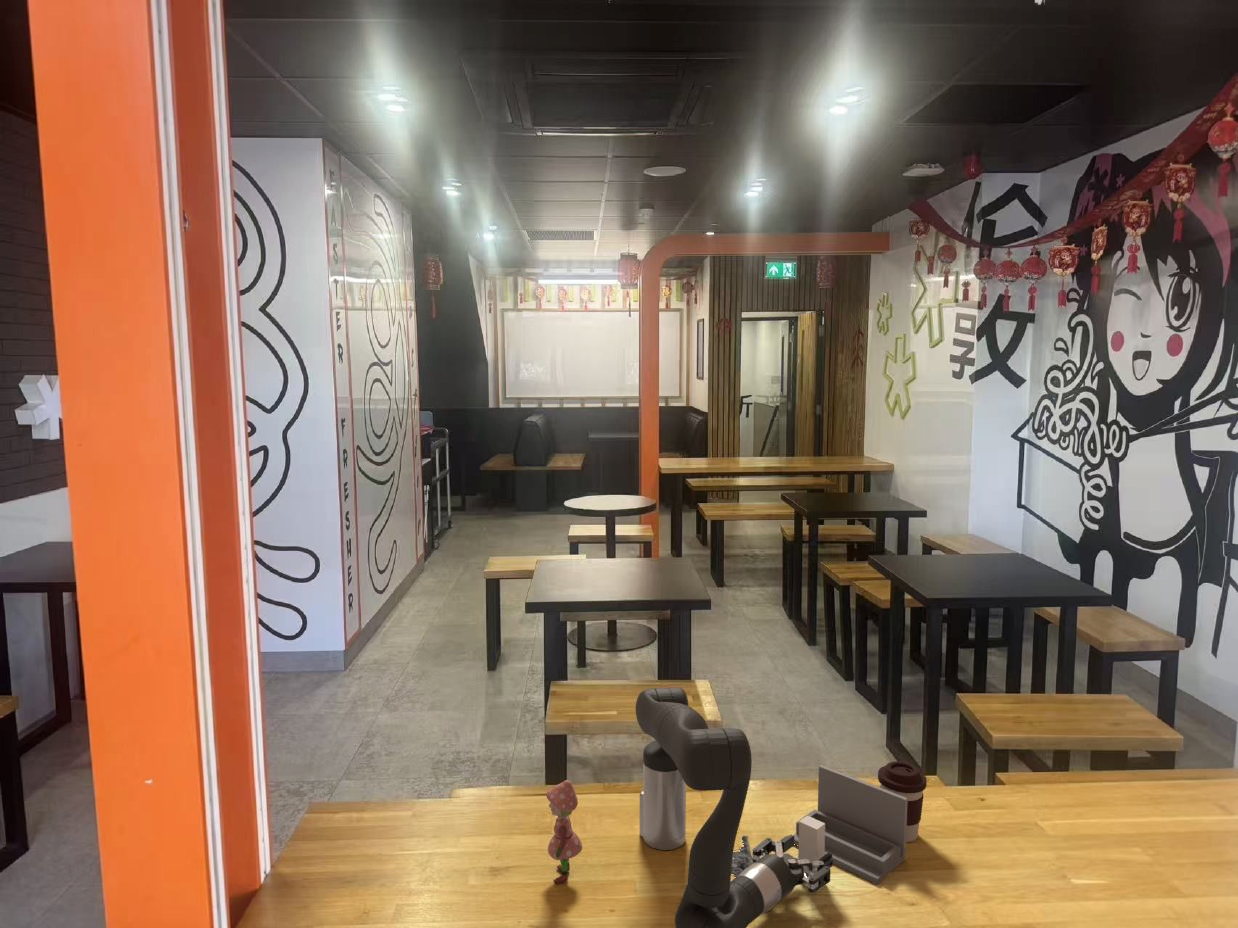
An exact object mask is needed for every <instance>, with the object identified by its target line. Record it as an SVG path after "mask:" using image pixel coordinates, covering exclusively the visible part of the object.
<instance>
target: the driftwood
mask: <svg viewBox="0 0 1238 928" xmlns="http://www.w3.org/2000/svg"><path fill="white" fill-rule="evenodd" d="M742 836H743V835H742ZM742 840H743V842H742V843H744V844H743V845H744V847H741V849H740V848H738V850H740V852H738V851H737V852H733V857H732V868H731V874H734V875H735V876H734V875H733V878H734V877H738V876H739V874H740V873H741V872H742V871H744V870H745V869H746V868H748V867H749V866H750V865H752V864H753V858H752V856H753V855H752V851H751V847H750V842H749V840H748V835H745V836H743V837H742ZM733 858H734V859H733Z"/></svg>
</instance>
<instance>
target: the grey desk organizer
mask: <svg viewBox="0 0 1238 928" xmlns="http://www.w3.org/2000/svg"><path fill="white" fill-rule="evenodd" d="M817 785H818V786H817V787H818V789H817V790H818V792H817V809H815V808H814V809H813V810H811V811H810V812H808V813H807V814H805V816H803V817H802V818H800V819H799V820H798V821H796V823H795V824H796V825H795V833H794V834H792V835H793V836H794V844H795V845H794V846H796V845H798V846H797V847H798V848H799V821H800V820H802V819H803V818H805V817H806V816H809V817H812V818H814V819H816V820H818V821H821V822H823V823H825V850H824V855H826V854H827V853H830V854H832V857H833V865H836V866H837V867H840V868H842V869H844V870H845V871H848V872H850V873H852V874H854V875H856V876H858V877H860V878H863V879H865V880H867V881H869V882H870V883H872V884H875V885H876V886H878V885H879V884H880V883H881V882H883V880H884V879H886V878H887V877H888V876H889V875H890V874H891V873H892V872H894V870H895V869H897V868H898V866H900V865H901V864H902V863H903V862H904V861H905V860H906V853H907V852H906V850H907V846H906V845H907V842H906V827H907V801H908V798H906V797H903V796H901V795H898V794H895V793H893V792H890V791H888V790H885V789H882V788H880V787H879V786H876V785H874V784H872V783H870V782H866V781H864V780H861V779H859V778H856V777H855V776H851V775H849V774H846V773H844V772H841V771H838V770H836V769H833V768H831V767H828V766H825V765H822V764H820V765H819V766H818V784H817Z"/></svg>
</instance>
